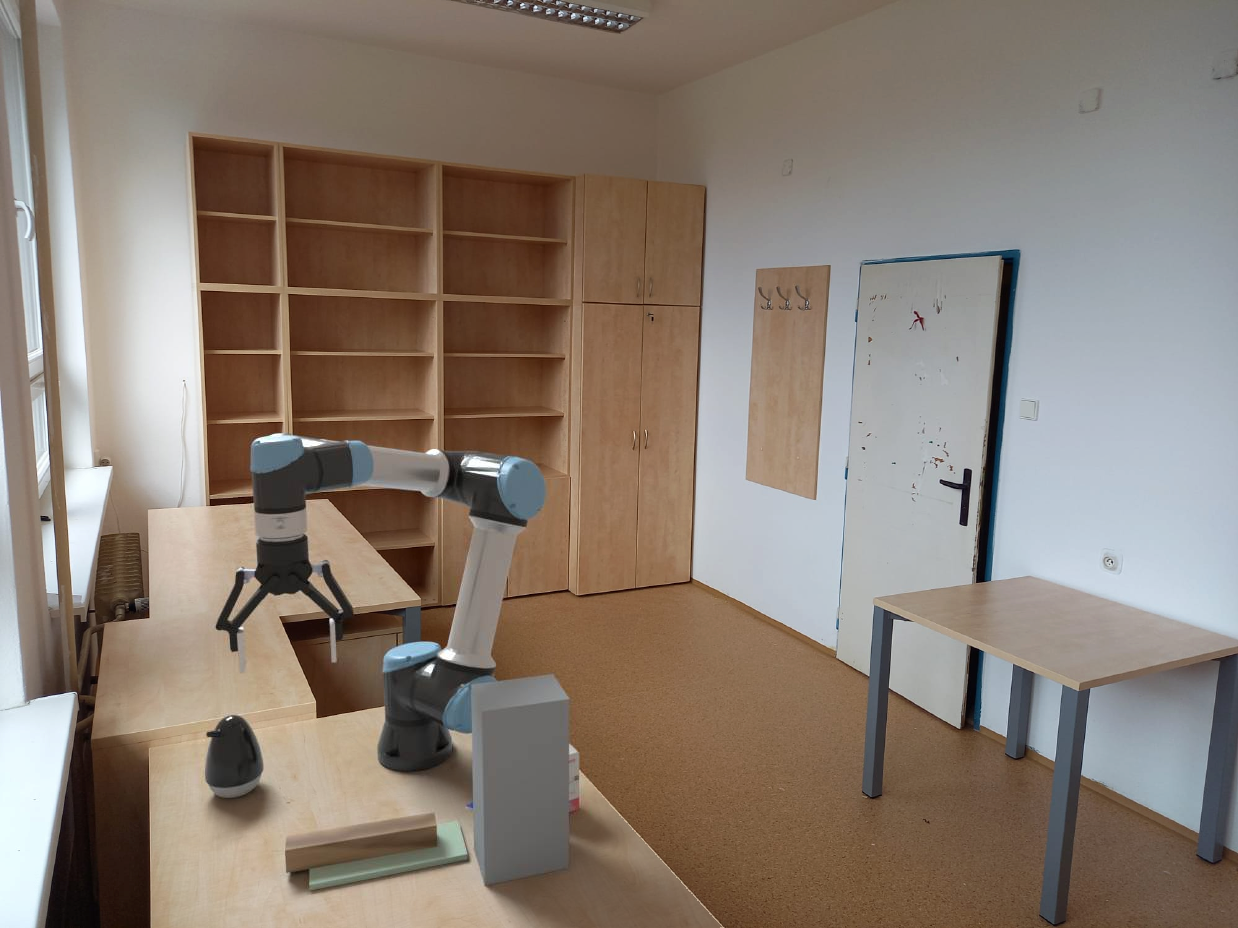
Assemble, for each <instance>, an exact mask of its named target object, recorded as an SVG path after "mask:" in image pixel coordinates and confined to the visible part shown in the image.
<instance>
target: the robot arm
mask: <svg viewBox="0 0 1238 928" xmlns="http://www.w3.org/2000/svg"><path fill="white" fill-rule="evenodd" d="M249 469H250V472H251V480H252V481H251V483H252V484H251V485H252V497H253V509H254V510H253V515H254V529H255V533H254V534H255V535H256V537H258V538H257V539H256V541H255V548H256V549H255V550H256V562H257V563H256V564H257V565H256V568H254V569H253V568H249V569H248V568H245V567H244V566H239V567H237V569H236V573H235V579H234V585H233V587H232V589H231V591H230V594H229V595H228V598H227V600H226V601H225V604H224V606H223V608H222V610H221V612H220V614H219V617H218V618H217V620H216V624H215V629H216V630H217V631H225V632H227V633H228V636H229V637H228V638H229V649H230V651H231V652H232V653H235V652H237V653H238V669H239V674H244V673H246V670H247V669H246V668H247V660H246V659H247V658H246V656H247V655H246V644H245V643H246V642H245V641H246V640H245V629H244V628H245V627H244V626H242V625H243V624H244V623H245V622H246V620H247V619H248V618H249V617H250V615H251V614H252V613H253V612H254V610H256V608H257V607H258V606H259V605H260V604H261V602H263V601H264V599H265V598H266V597H267V596H268V594H271V595H273V596H276V597H277V596H281V595H284V594H287V595H295V594H296V593H298V592H299V591H301V592H302V594H304V595H305V596H306V597H308V598H309V599H310V600H311V601H312V602H313V603H314V604H316V606H317V607H318V608H320V609H321V610H322V611H323V612H324V613H326V615H328V617H330V618H329V631H330V632H329V633H330V634H329V635H330V636H329V638H330V649H331V650H330V652H331V653H330V655H331V658H330V659H331V664H332V663H333V664H334V663H338V662H337V645H336V643H337V642H336V641H343V637H344V629H343V621H344V620H345V619H348V618H352V617H354V614H355V613H354V608H353V606H352V604H351V602H350V600H349V599H348V597H347V596H346V594H345V593H344V591H343V589H342V588H341V586H340V585H339V583H338V581H337V579H336V578H335V576H334V574H333V573H332V570H331V565H330V561H329V560H327V559H324V560H322V562H318V563H313V564H312V563H311V562H310V559H309V558H310V557H309V554H310V553H309V541H308V540H309V539H308V535H307V534H305V533H307V531H308V516H307V495H309V494H315V493H319V492H320V493H321V492H327V491H333V490H339V489H345V488H349V489H350V488H353V487H356V486H363V487H364V486H365V487H375V488H376V487H377V488H383V489H384V488H386V489H394V490H395V489H396V490H406V491H417V492H421V494H422V495H424V496H425V497H427V498H428V497H429V498H438V499H441V500H446V501H450V502H453V503H456V504H459V505H462V506H466V507H468V508H469V513H468V518H469V520H470V521H471V523H472V526H473V529H472V530H473V531H472V534H471V538H470V539H471V540H470V544H469V549H468V552H467V557H466V560H465V561H466V562H465V565H464V572H463V575H462V579H461V584H460V587H459V588H460V589H459V592H458V597H457V602H456V606H455V611H454V615H453V620H452V623H451V629H450V633H449V637H448V641H447V645H446V647H444V648H443V649H442V648H441V645H440V644H439V643H437V642H434V641H416V642H414V641H413V642H407V643H403V644H401V645H397V646H395V647H393V648H392V649H390V650H388V651H387V652H386V653H385V655H384V656H383V661H382V662H383V664H382V670H381V672H382V679H383V698H384V699H383V700H384V723H383V726H382V730H381V733H380V735H379V739H378V742H377V748H376V749H377V753H376V754H377V760H378V762H379V763H380V764H381V765H382V766H384V767H386V768H388V769H390V770H395V771H400V772H401V771H402V772H412V771H413V772H414V771H415V772H416V771H422V770H426V769H430V768H432V767H435V766H438V765H440V764H441V763H443V762H445V761H446V760H447V759H449V757H450V756H451V754H452V751H453V740H452V734H451V732H450V731H453V732H454V731H455V732H456V733H457V732H458V733H461V734H466V735H469V734H472V709H471V685H472V684H480V683H488V682H495V681H498V679H496V678H495V677H494V676H495V671H496V667H497V664H496V661H495V660H494V659H493V656H492V654H491V653H492V650H493V649H492V648H493V644H494V640H495V636H496V632H497V627H498V621H499V617H500V612H501V610H502V609H501V608H502V603H503V600H504V595H505V590H506V584H507V580H508V576H509V572H510V567H511V563H512V558H513V555H514V554H513V553H514V549H515V544H516V540H517V536H518V535H519V534H520V533H521V532H524V531H526V529H527V526H528V522H529V520H530V519H533V518H535V517H536V516H537V515H538V514H539V512H541V511H542V509H543V507H544V505H545V502H546V501H545V500H546V496H547V487H546V484H547V483H546V479H545V477H544V475H543V474H542V471H541V469H540V468H539V466H537V464H536V463H534V462H533V461H531V460H528V459H525V458H522V457H519V456H514V455H506V454H498V453H491V452H485V451H479V450H458V451H457V450H440V449H430V450H428V451H427V450H426V452H418V451H412V450H405V449H404V450H403V449H397V448H389V447H381V446H374V445H367V444H366V443H365V442H363V441H361V440H343V441H339V440H338V441H337V440H329V439H325V438H324V439H322V438H315V437H309V436H308V437H307V436H302V435H301V436H300V435H295V434H292V433H285V432H284V433H280V432H279V433H273V434H271V435H267V436H262V437H258V438H256V439H254V440H253V442H252V443H251V446H250V467H249ZM313 573H315V574H316V575H317V577H320V578H323V580H324V583H325V584H326V586H327V587H328V589H329V590H330V592H331V594H332V595H333V597H334V598H335V600H336V602H337V603H338V605H339V607H340V608H341V609H339V608H338V607H336V606H335V604H333V603H332V602H331V600H329V599H328V598H327V597H326V596H324V594H323V593H321V591H320V590H318V589H317V588H316V587H315V586H314V584H312V582H310V580H309V578H310V577H311V576H312V574H313ZM252 578H255V579H256V581H257V582H259V584H260V586H259V587H258V588H257V590H256V591H255V592H254V594H252V596H251V597H250V598H249V600H247V602H246V603H245V604H244V605H243V607H242V608H241V610H239V612H238V613H237V614H236V615H235V617H234V618H233V619H232V620H229V618H230V615H231V614H232V612H233V610H234V608H235V606H236V603H237V601H238V599H239V598H240V595H241V592H242V591H243V588H244V584H248V583H250V582H251V580H252Z"/></svg>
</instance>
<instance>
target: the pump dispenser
mask: <svg viewBox="0 0 1238 928" xmlns="http://www.w3.org/2000/svg"><path fill="white" fill-rule="evenodd" d="M205 735H206V737H207V738H210V739H209V744H208V746H207V747H208V748H207V753H206V757H205V765H204V767H205V768H204V779H205V782H206V784H207V785H208V788H209V789H210V790H211V791H212V792H213V794H215V795H216V796H218V797H220V798H223V799H224V798H225V799H226V798H227V799H234V798H239V797H242V796H244V795H247V794H248V793H250V792H252V790H254V789H255V788H256V787H257V785H258V783H260V780H261V778H262V774H263V772H264V769H265V768H264V767H265V766H264V765H265V764H264V759H263V754H262V753H263V752H262V749H261V746H260V743H259V741H258V738H257V736H256V734H255V732H254V730H253V728H252V726H251V725H250V723H249V722H248V721H247V719H245V718H244V717H243V716H241V715H239V714H238V715H237V714H229V715H227V716H224V717H223V718H221V719H220V720H219V722H217V724H216V725H215V728H214V729H213V730H208V731H207V732H206V734H205Z"/></svg>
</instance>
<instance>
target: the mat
mask: <svg viewBox="0 0 1238 928" xmlns="http://www.w3.org/2000/svg"><path fill="white" fill-rule="evenodd" d="M436 824H437V823H436ZM468 854H469V853H468V851H467V847H466V843H465V840H464V836H463V833H462V830H461V826H460V822H459V820H455V821H451V822H450V821H448V822H444V823H438V824H437V847H433V848H427V849H422V850H416V851H410V852H404V853H398V854H393V855H387V856H381V857H375V858H369V859H364V860H358V861H352V862H346V863H341V864H335V865H329V866H323V867H317V868H312V869H308V870H309V871H308V872H309V875H308V876H309V877H308V878H309V883H308V884H309V885H308V886H309V891H316V890H319V889H325V888H330V887H334V886H340V885H345V884H349V883H355V882H361V881H364V880H365V881H366V880H369V879H370V880H371V879H377V878H380V877H381V878H382V877H385V876H390V875H395V874H399V873H405V872H406V873H407V872H411V871H416V870H421V869H426V868H431V867H437V866H441V865H446V864H450V863H451V864H452V863H456V862H461V861H466V860H468V858H469V857H468Z"/></svg>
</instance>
